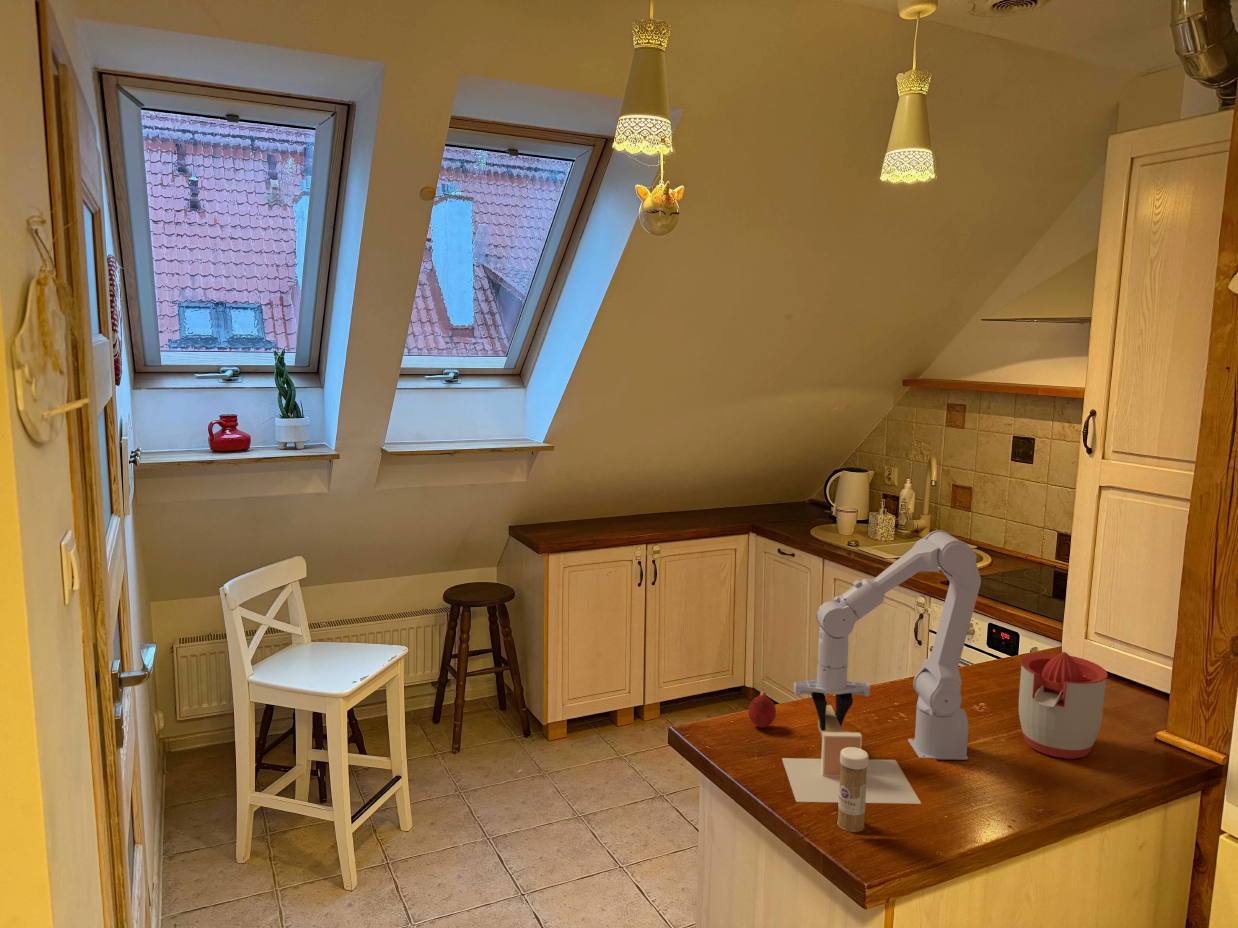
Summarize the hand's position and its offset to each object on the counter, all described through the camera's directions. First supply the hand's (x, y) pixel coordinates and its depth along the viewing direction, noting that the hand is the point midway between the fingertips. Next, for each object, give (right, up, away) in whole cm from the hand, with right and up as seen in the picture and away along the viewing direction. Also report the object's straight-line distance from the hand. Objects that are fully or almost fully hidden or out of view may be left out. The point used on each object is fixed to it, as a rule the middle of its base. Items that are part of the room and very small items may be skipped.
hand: (829, 728), depth 174 cm
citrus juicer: (+46, -5, +3) cm, 46 cm away
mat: (+1, -7, -11) cm, 13 cm away
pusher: (0, -3, 0) cm, 3 cm away
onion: (-12, -4, +11) cm, 16 cm away
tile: (0, -6, -9) cm, 11 cm away
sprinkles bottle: (-3, -9, -26) cm, 27 cm away
